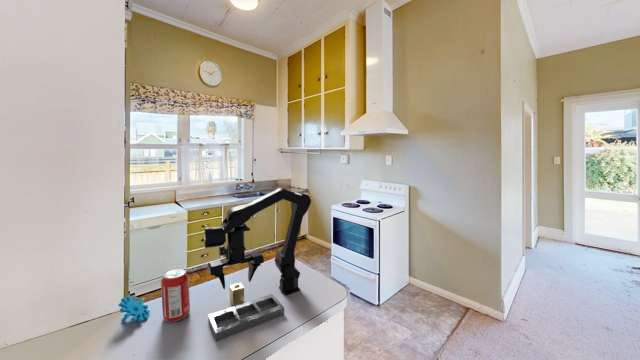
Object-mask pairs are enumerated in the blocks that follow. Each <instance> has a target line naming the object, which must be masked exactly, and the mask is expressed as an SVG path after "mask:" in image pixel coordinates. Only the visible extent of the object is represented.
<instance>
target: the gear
mask: <svg viewBox="0 0 640 360" xmlns="http://www.w3.org/2000/svg"><path fill="white" fill-rule="evenodd" d="M144 303H145V298H144V297H142V298H140V299H139V297H137V296H134V297H132V295H127V296H126V297H122V298H121V299H120V302H119V304H118V307H120V309H119V311H120V313H125V314H124V315H123V318H121V322H122V323H123V321H124V322H125V321H126V320H128V318H129V317H131V316H132V317H131V318H130V321H131V322H133V323H134V322H135V321H137V322H139V323H142V322H143V321H145V320H147V319H148V318H149V314H150V312H151V311H150V310H149V305H148V304H144ZM137 317H138V318H137Z"/></svg>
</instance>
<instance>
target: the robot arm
mask: <svg viewBox="0 0 640 360" xmlns="http://www.w3.org/2000/svg"><path fill="white" fill-rule="evenodd" d="M283 200H284V201H288V202H290V210H291V215H290V218H289V223H288V227H287V231H286V235H285V238H284V243H283V247H282V248H281V250H280V251H278V250H277V251H276V256H275V258H274V260H273V261H274V263H275V266H276V268H277V269H278V271H279V272H280V279H279V287H278V289H280V291H282V292H281V293H283V294H284V295H285V296H287V295H290V294H293V293H296V292H299V291H300V290H301V288H300V287H299V278H300V275H301V272H300V271H299V270H298V269H297V267H296V256H295V255H296V254H295V250H296V247H297V246H296V245H297V242H298V238H299V234H300V231H301V226H302V222H303V218H304V216H305V215H306V213H307V212H308V210H309V208H310V206H311V204H312V199H311V197H310V196H309V194H306V193H304V192H302V191H295V192H294V191H290V190H287V189H286V188H283V187H277V188H276V189H274V191H270V192H269V193H267V194H265V195H263V196H261V197H259V198H257V199H255V200H253V201H251V202H249V203H247V204H246V203H245V204H241V205H237V206H233V207H231V208H229V209H228V210H227V211H226V214H225V218H224V219H223V221H222V222H221V224H220V226H213V227H211V226H210V227H205V228H204V235H203V239H204V249H210V248H211V249H212V248H218V255H219V257H224V258H225V259H226V260H227V261H224V262H221V261H220V259H216V260H213V261H208V263H207V265H206V269H207V271H208V273H209V275H210V276H212V277H213V276H214V277H215V278H217V277H218V279H219V281H220V284H221V286H222V288H223V290H225V289H226V281H225V280H226V279H225V273H224V269H225V268H230V267H234V266H238V265H243V264H246V263H247V264H248V272H247V279H248V282H249V283H251V281H252V280H253V278H254V275H255V273H256V271H257V269H258V267H260V266H261V264H264V262H265V258H264V254H262V253H261V252H259V251H258V250H257V251H252V252H249V253H248V255H247V256H246V254H245V253H246V252H245V251H246V247H245V232H249V231H250V230H251V228H250V227H249V226H248V225H247V224H246V223H247V222H248V221H249V220H250V219H251V218H252V217H253V216H255V215H256V214H257V213H260V212H262V211H264V210H265V209H267V208H269V207H270V206H273V205H275V204H276V203H278V202H281V201H283ZM226 243H227V245H226V247H225V246H223V245H225V244H226Z"/></svg>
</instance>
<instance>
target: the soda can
mask: <svg viewBox="0 0 640 360" xmlns="http://www.w3.org/2000/svg"><path fill="white" fill-rule="evenodd" d="M189 278H190V276H189V274H188V273H187V270H186V269H184V268H175V269H171V270H169V271H168V270H167V271H166V272H165V273H164V274H163V275H162V279H161V281H160V290H161V305H162V306H161V308H162V319H163V320H164V321H166V322H177V321H180V320H182V319H184V318H186V317H187V316H188V315H189V314H190V312H191V303H190V302H191V301H190V300H191V299H190V298H191V297H190V279H189Z"/></svg>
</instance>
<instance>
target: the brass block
mask: <svg viewBox="0 0 640 360" xmlns="http://www.w3.org/2000/svg"><path fill="white" fill-rule="evenodd" d="M229 302H230V304H231V306H232V307H234V306H237V305H240V304H243V303H245V287H244V285H243V284H242V282H238V283H234V284H230V285H229Z"/></svg>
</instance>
